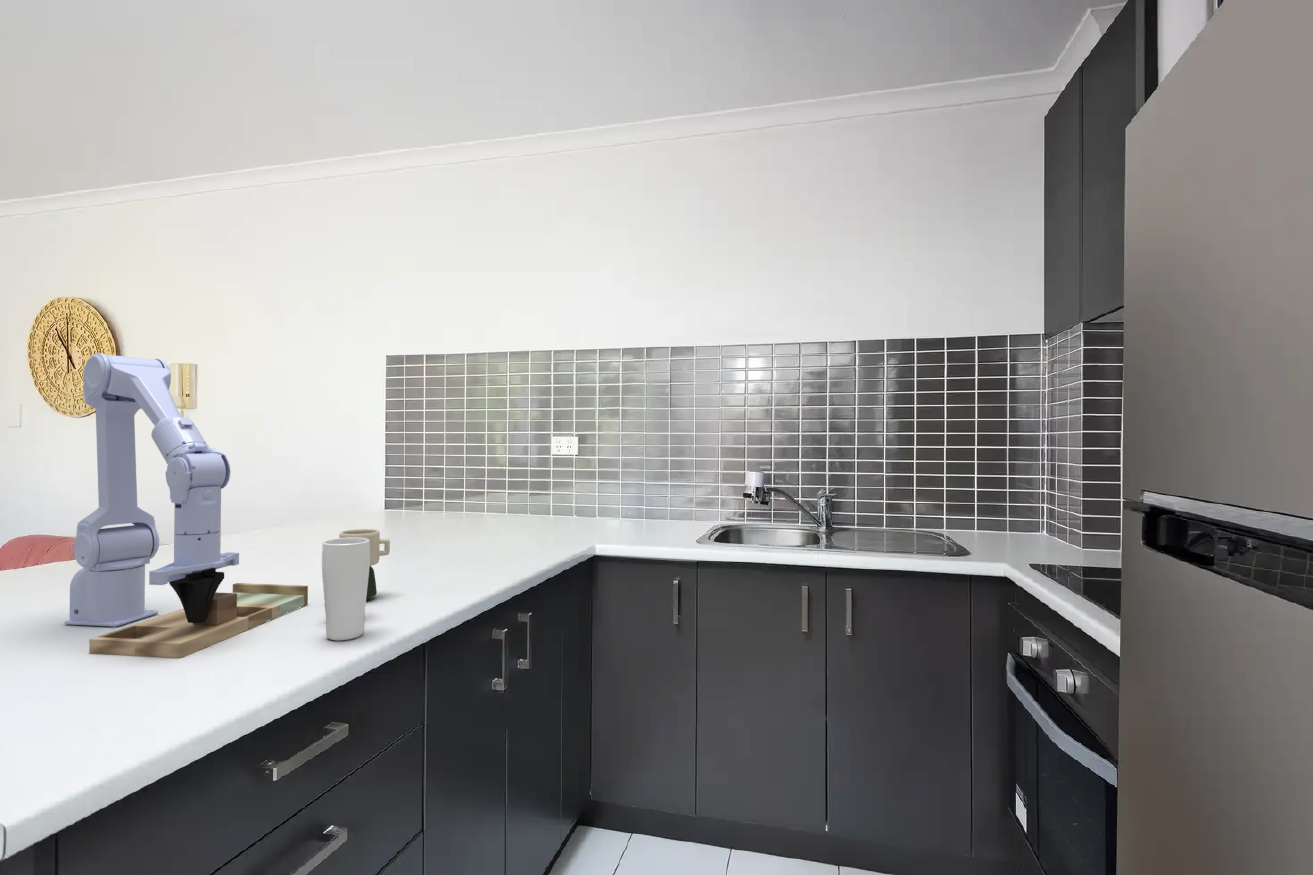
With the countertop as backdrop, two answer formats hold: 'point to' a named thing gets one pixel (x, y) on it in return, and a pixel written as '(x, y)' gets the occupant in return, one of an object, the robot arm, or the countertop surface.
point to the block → (221, 609)
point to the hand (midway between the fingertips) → (196, 621)
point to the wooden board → (184, 638)
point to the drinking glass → (345, 586)
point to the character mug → (374, 552)
